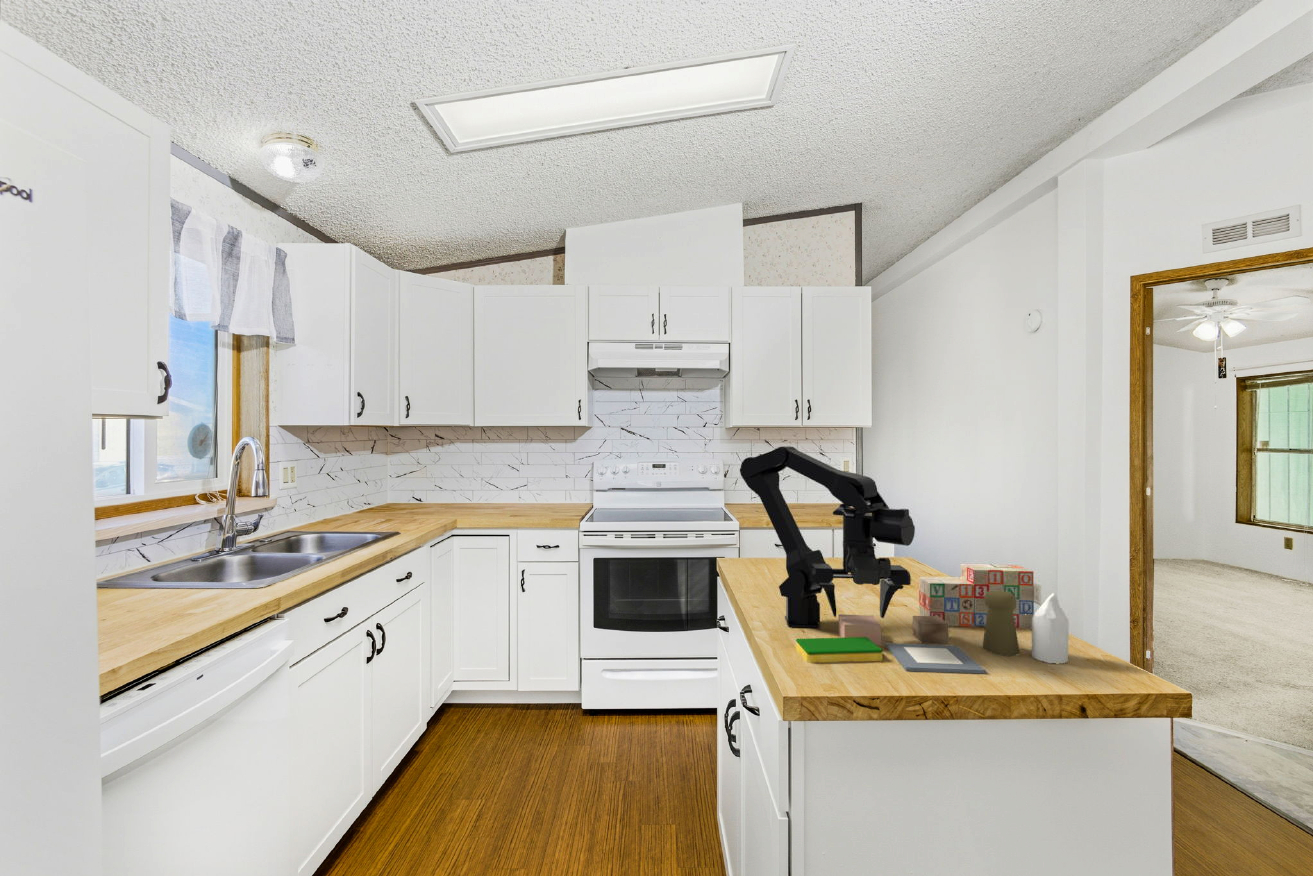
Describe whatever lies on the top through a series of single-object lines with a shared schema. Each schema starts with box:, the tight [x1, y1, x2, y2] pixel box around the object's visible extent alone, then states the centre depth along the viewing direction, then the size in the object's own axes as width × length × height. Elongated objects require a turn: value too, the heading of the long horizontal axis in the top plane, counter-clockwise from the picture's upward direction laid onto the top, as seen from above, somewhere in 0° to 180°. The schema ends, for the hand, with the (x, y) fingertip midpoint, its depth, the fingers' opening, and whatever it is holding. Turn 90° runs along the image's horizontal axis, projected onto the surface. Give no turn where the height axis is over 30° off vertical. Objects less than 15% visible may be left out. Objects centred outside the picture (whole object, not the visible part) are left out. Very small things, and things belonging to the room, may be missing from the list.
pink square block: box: [838, 613, 882, 647], centre depth 115 cm, size 7×7×4 cm
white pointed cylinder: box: [1031, 592, 1070, 665], centre depth 104 cm, size 6×12×6 cm
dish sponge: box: [795, 637, 883, 664], centre depth 106 cm, size 7×14×2 cm, turn 93°
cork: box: [982, 590, 1020, 657], centre depth 108 cm, size 6×6×11 cm
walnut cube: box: [912, 615, 949, 645], centre depth 114 cm, size 5×5×4 cm
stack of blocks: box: [918, 563, 1035, 629], centre depth 125 cm, size 21×6×12 cm, turn 85°
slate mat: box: [885, 642, 987, 675], centre depth 104 cm, size 13×12×1 cm
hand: (858, 617), depth 115 cm, fingers open, 9 cm apart
